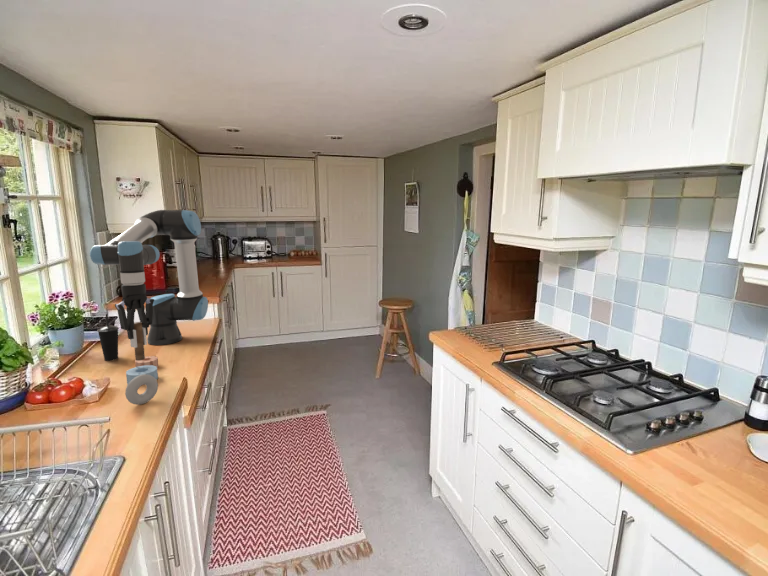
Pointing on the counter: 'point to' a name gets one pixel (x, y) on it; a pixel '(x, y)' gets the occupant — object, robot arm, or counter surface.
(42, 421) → the counter surface
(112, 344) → the drinking cup
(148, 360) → the bead
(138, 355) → the dowel
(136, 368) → the blue thick ring
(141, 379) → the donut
